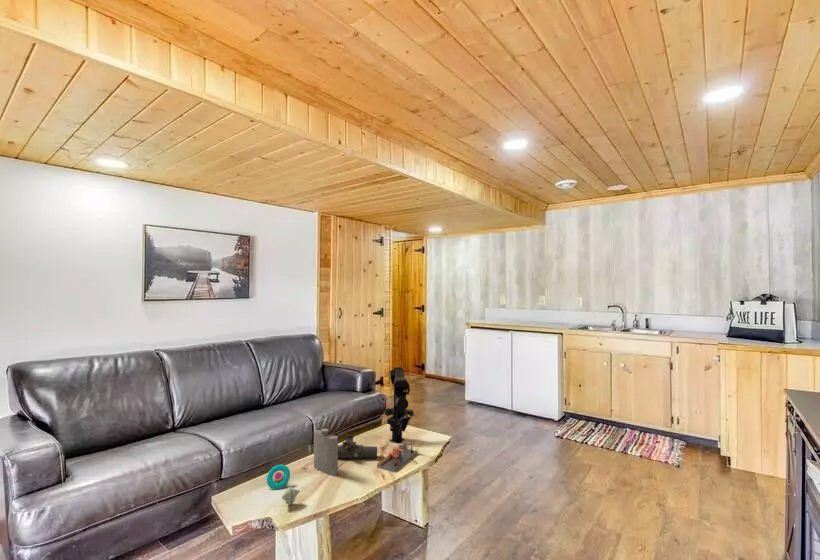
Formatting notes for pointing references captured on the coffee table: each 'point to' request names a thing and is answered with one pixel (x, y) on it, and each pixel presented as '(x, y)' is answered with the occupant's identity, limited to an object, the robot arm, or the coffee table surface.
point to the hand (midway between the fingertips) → (400, 433)
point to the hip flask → (326, 452)
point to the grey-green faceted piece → (290, 495)
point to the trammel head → (396, 452)
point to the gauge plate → (396, 463)
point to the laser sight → (355, 450)
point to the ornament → (278, 477)
